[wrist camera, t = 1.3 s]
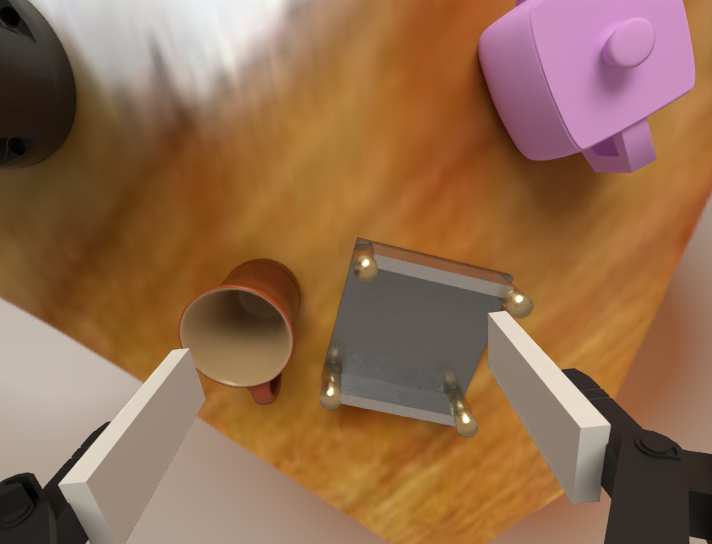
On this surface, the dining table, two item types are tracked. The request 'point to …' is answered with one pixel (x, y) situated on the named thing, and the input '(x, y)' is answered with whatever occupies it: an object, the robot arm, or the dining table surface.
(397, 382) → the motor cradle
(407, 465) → the dining table surface
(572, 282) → the dining table surface
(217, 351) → the mug
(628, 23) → the teapot
